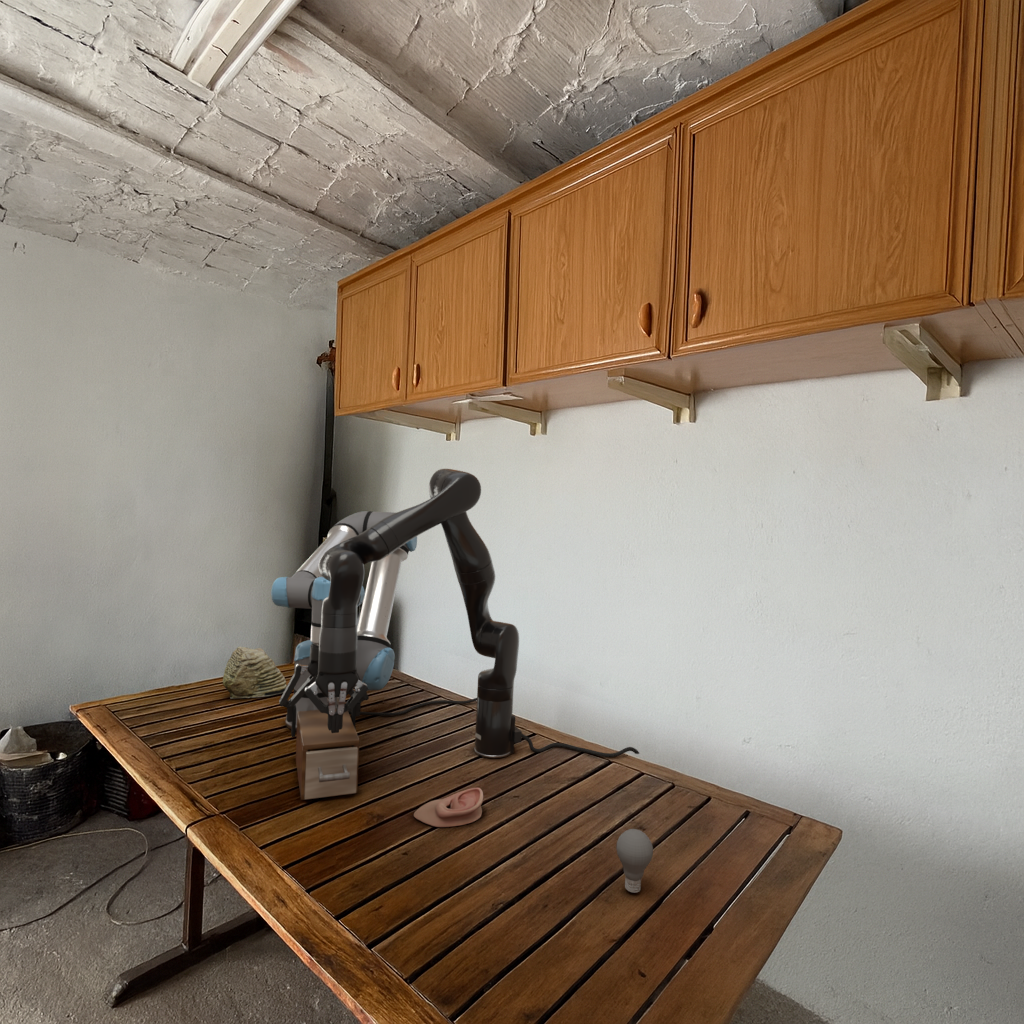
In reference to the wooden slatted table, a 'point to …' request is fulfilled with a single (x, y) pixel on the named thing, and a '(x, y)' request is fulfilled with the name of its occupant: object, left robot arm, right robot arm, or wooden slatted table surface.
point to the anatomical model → (452, 809)
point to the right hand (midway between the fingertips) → (334, 731)
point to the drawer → (330, 771)
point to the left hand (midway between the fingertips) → (323, 732)
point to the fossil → (252, 674)
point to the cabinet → (320, 739)
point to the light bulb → (634, 857)
